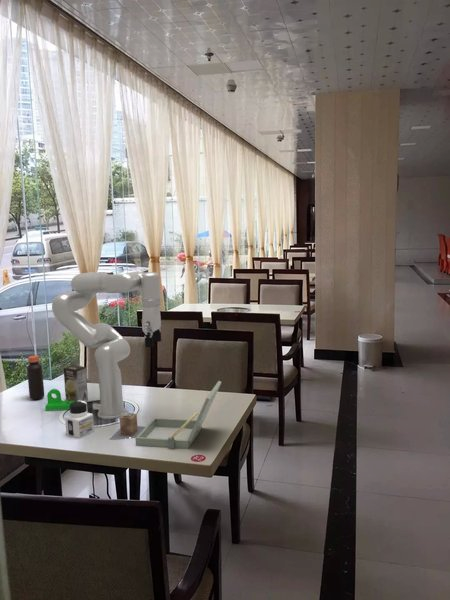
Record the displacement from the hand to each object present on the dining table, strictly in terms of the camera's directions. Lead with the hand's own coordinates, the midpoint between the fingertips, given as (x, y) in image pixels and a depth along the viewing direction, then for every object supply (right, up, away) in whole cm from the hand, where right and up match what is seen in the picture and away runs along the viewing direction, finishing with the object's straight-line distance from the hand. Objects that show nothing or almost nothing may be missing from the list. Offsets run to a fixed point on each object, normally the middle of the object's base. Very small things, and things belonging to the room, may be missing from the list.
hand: (153, 344), depth 216 cm
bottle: (-61, -29, +38) cm, 78 cm away
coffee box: (-40, -29, +32) cm, 59 cm away
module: (-8, -34, -9) cm, 36 cm away
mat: (-8, -34, -9) cm, 37 cm away
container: (-28, -35, -7) cm, 45 cm away
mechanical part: (-45, -31, +24) cm, 60 cm away
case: (+12, -35, -15) cm, 40 cm away
